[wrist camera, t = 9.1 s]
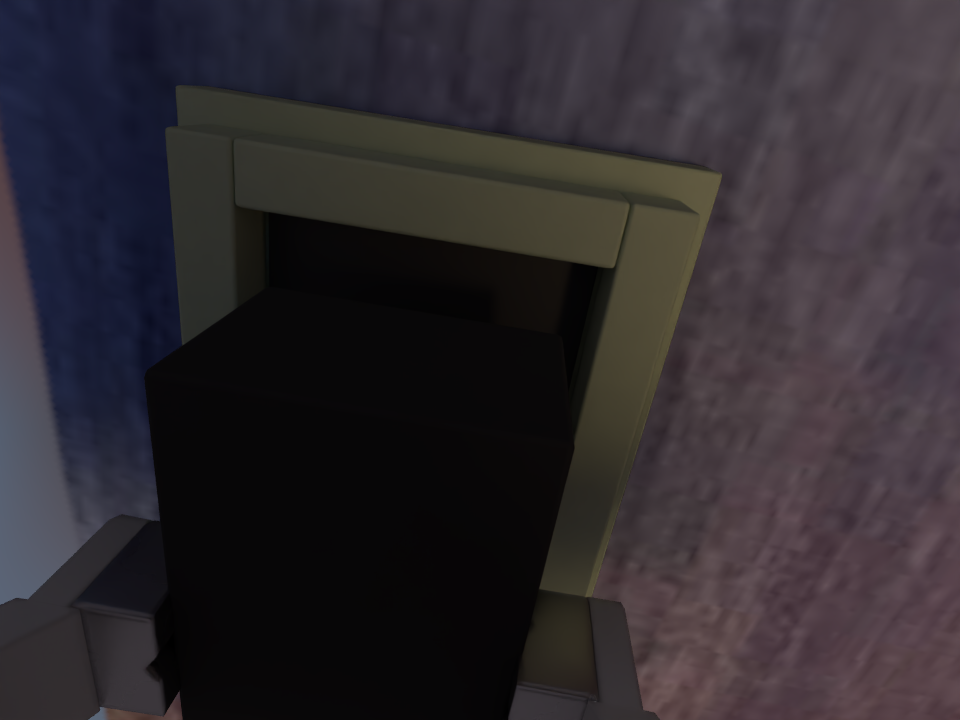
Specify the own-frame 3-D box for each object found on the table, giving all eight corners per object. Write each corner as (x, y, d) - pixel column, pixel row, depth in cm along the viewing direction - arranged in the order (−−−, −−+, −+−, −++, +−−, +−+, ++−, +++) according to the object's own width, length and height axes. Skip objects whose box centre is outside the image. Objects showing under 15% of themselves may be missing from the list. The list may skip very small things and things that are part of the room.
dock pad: (206, 85, 10) (124, 81, 8) (706, 166, 10) (751, 183, 8) (232, 599, 15) (186, 674, 13) (560, 658, 15) (564, 743, 13)
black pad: (266, 283, 8) (139, 371, 6) (563, 333, 8) (578, 445, 6) (271, 656, 12) (191, 823, 9) (483, 694, 12) (467, 874, 9)
